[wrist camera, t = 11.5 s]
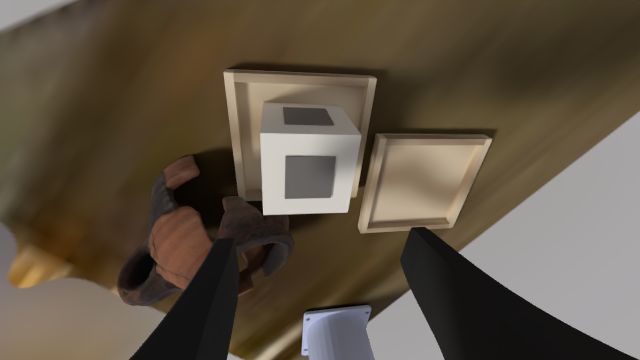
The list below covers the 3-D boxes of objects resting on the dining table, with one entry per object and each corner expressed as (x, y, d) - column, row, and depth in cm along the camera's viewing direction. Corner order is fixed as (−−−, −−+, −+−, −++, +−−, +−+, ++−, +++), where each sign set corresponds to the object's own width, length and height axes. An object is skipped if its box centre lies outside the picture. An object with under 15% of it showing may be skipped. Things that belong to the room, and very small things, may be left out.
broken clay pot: (215, 117, 17) (272, 207, 13) (274, 179, 26) (320, 247, 21) (60, 229, 17) (68, 360, 13) (171, 256, 25) (199, 341, 21)
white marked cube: (331, 170, 20) (348, 213, 16) (264, 170, 19) (263, 216, 15) (340, 103, 17) (362, 133, 13) (263, 100, 16) (259, 131, 12)
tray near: (352, 190, 22) (356, 197, 21) (240, 193, 20) (239, 201, 19) (371, 75, 17) (376, 78, 16) (226, 69, 15) (223, 72, 15)
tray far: (446, 220, 26) (452, 227, 25) (357, 225, 24) (360, 233, 23) (483, 134, 21) (492, 139, 20) (375, 133, 19) (380, 138, 18)
